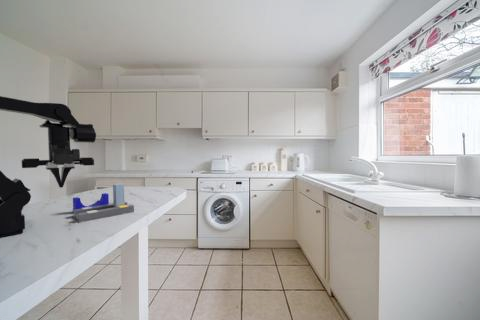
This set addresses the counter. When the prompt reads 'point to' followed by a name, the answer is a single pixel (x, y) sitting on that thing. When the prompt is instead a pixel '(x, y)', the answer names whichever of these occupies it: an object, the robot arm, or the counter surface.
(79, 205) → the cable clip
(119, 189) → the tab
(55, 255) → the counter surface
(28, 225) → the counter surface
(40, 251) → the counter surface
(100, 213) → the switch housing
